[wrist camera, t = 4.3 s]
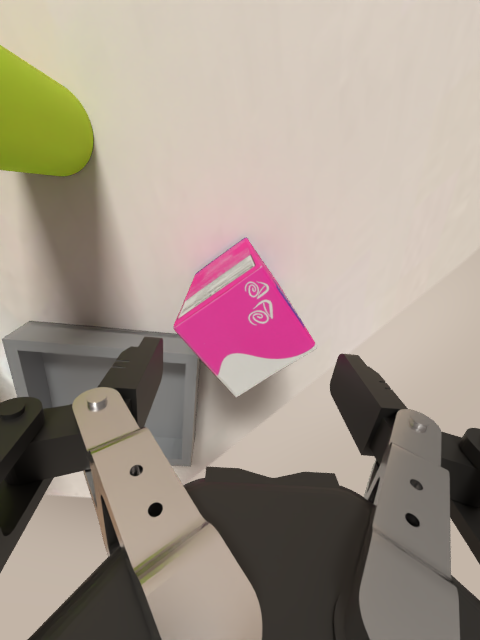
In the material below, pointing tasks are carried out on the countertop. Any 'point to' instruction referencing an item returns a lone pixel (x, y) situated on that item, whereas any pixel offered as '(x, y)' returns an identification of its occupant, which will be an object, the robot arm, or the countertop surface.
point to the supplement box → (241, 320)
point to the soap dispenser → (40, 122)
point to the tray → (93, 364)
